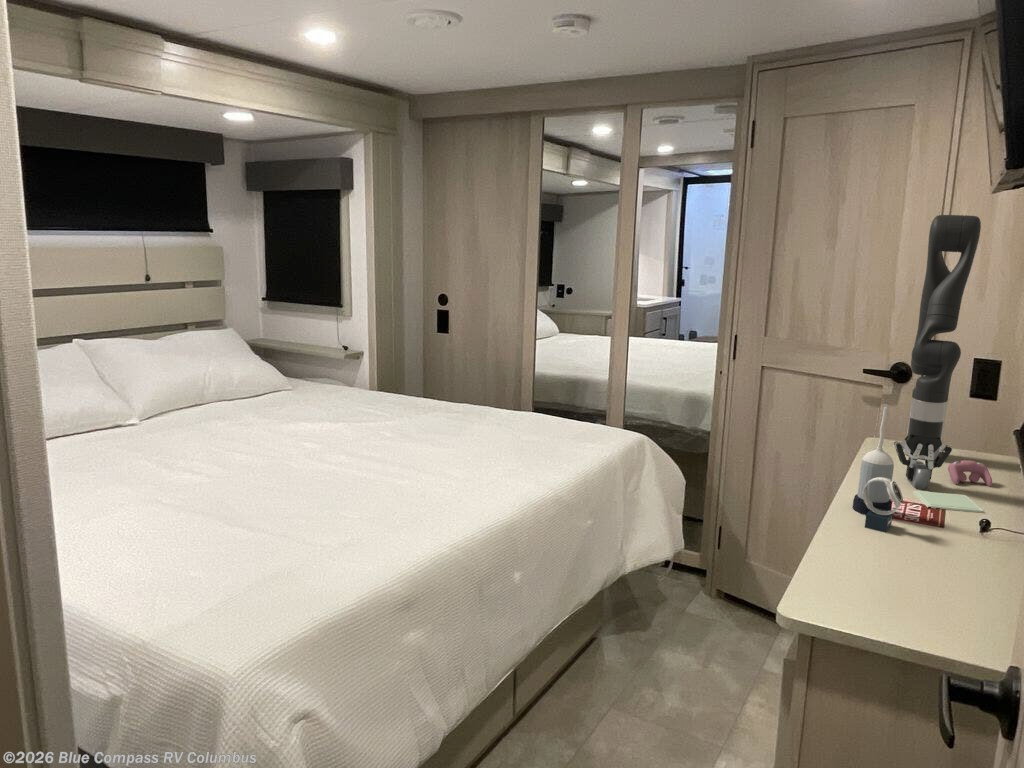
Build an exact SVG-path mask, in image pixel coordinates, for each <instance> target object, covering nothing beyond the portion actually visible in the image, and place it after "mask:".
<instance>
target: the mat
mask: <svg viewBox="0 0 1024 768" xmlns="http://www.w3.org/2000/svg"><path fill="white" fill-rule="evenodd" d="M913 494H914V495H915V496H916V497H917V498H918V499H919V500H920V501H921V502H922V504H923V505H925V506H926V507H927V508H928V507H931V508H930V509H936V508H940V509H939V510H948V511H962V512H969V513H970V512H972V513H982V514H984V513H985V511H984V510H983V509H982V508H981V507H980V506H979V505H978V504H977V503H975V502H974V501H973V500H972V499H971V498H970V497H968V496H967V495H965V494H957V493H956V494H955V493H944V492H935V491H932V492H931V491H925V490H913Z"/></svg>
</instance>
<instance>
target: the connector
mask: <svg viewBox="0 0 1024 768" xmlns="http://www.w3.org/2000/svg"><path fill="white" fill-rule="evenodd" d="M930 473H931V470H930V469H929V468H928V467H927V466H926V465H925V463H924V462H923V461H919V460H916V463H915V466H914V474H913V481H909V480H908V478H907V477H906V480H907V481H908V482H909V483H910V484H911V485H912V487H914V488H915V489H918V490H920V491H926V490H929V485H930V481H931V480H930ZM929 480H930V481H929Z"/></svg>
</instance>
